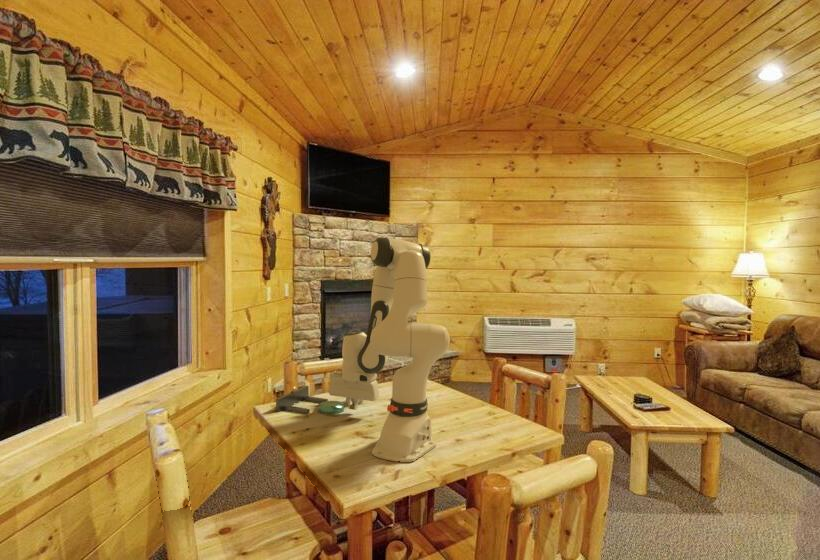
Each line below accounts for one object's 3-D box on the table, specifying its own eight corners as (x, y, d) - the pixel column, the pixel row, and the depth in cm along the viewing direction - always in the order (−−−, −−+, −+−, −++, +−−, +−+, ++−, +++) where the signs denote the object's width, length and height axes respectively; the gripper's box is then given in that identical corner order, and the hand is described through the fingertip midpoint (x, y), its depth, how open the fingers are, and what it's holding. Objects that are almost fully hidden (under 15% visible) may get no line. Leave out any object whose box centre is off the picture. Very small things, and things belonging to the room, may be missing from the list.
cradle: (303, 415, 170) (303, 397, 170) (275, 411, 175) (275, 393, 175) (331, 400, 189) (331, 384, 189) (305, 397, 194) (305, 381, 193)
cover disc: (335, 416, 171) (335, 410, 171) (313, 413, 175) (313, 406, 175) (348, 408, 181) (348, 402, 180) (326, 405, 184) (326, 399, 184)
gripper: (325, 372, 174) (325, 407, 175) (373, 378, 167) (373, 415, 168) (334, 368, 180) (333, 403, 181) (380, 374, 173) (380, 410, 174)
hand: (352, 409), depth 174 cm, fingers closed
